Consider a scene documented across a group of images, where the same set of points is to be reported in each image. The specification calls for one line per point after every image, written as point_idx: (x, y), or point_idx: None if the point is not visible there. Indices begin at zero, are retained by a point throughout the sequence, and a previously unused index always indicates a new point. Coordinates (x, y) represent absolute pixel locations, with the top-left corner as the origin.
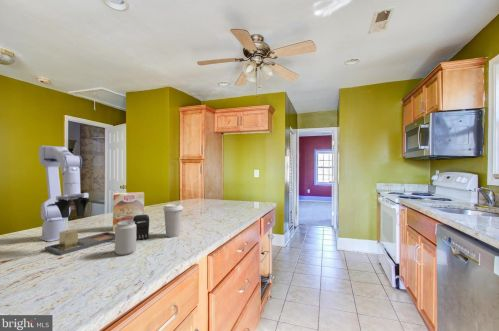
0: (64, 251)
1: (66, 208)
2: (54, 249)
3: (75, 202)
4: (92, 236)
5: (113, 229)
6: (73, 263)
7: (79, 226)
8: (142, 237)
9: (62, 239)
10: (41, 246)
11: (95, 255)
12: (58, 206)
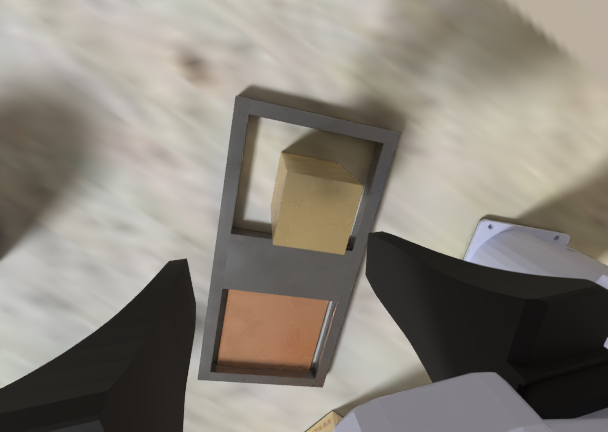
0: (233, 116)
1: (420, 323)
2: (310, 118)
3: (91, 371)
4: (330, 324)
5: (332, 420)
6: (32, 20)
7: None
8: None
9: (316, 168)
10: (460, 163)
11: (54, 149)
12: (493, 274)
